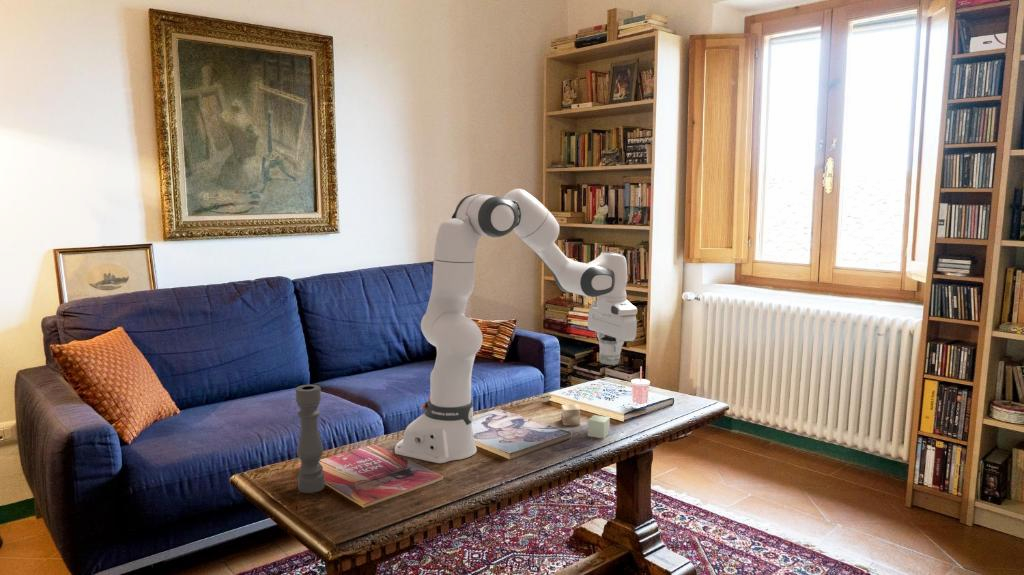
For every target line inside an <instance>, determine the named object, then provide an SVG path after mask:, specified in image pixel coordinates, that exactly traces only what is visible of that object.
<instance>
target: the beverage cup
mask: <svg viewBox="0 0 1024 575" xmlns="http://www.w3.org/2000/svg"><path fill="white" fill-rule="evenodd" d="M642 370H643V367H642V366H640V370H639V378H633V379H631V381H630V383H631V395H632V396H631V399H632V400H631V402H632V401H633V402H634V403H639V404H644V403H647V404H648V399H649V398H648V397H649V390H650V389H649V388H650V385H651V381H650V380H648V379H645V378H642V373H643V371H642Z"/></svg>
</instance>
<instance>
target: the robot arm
mask: <svg viewBox="0 0 1024 575" xmlns="http://www.w3.org/2000/svg"><path fill="white" fill-rule="evenodd" d="M512 231H513V232H514V233H515V234H516V235H517V237H519V239H520V240H522V242H524V243H525V244H526V245H527V246H528V248H530V249H531V250H532V251H533V252H534V253H535V255H536V256H537V257H538V258H539V259H540V260H541V262H542V263H543V264H544V265H545V266H546V267H547V268H548V270H549V271H550V272H551V274H552V276H553V278H554V282H555V283H556V286H557V287H558V289H559V290H561V291H562V292H563V293H567V294H574V295H577V296H578V295H580V296H584V297H588V298H595V297H596V300H593V301H592V302H591V303H590V308H589V310H588V316H587V323H586V324H587V328H588V330H589V331H594V332H596V336H597V339H598V343H599V344H598V346H599V347H600V339H601V338H603V337H605V336H611V337H614V338H616V342H617V344H616V346H614V352H616V353H620V354H621V352H622V347H623V346H624V343H625V342H630V341H631V342H632V341H635V339H636V337H637V325H638V323H637V322H638V321H637V317H636V315H637V314H638V308H637V306H635V305H633V304H632V303H631V302H630V301H629V300H628V299H627V298H628V296H627V291H626V290H627V289H626V287H627V283H628V264H627V259H626V257H625V255H624V254H622V253H617V252H611V251H606V250H605V251H601V252H600V254H599V255H598V256H597V257H596V258H595V259H593V260H591V261H589V262H587V263H585V262H580V261H576V260H574V259H571V258H570V257H569V258H568V257H567V256H566V255H565V253H564V252H563V251H562V250H561V249H560V248H559V246H558V245H557V243H555V242H556V241H557V239H558V237H559V235H560V224H559V222H558V221H557V219H556V217H555V216H554V215H553V214H552V213H551V211H550V210H549V209H548V208H547V207H546V206H545V205H544V204H543V203H542V202H541V201H539V200H538V199H537V198H536V197H535V196H534V195H532V194H531V193H529V192H527V191H526V190H525V189H523V188H515V189H514V188H513V189H511V190H510V191H508V192H507V193H505V195H504V196H503V197H502V196H495V195H491V194H487V193H486V194H484V193H479V194H475V193H474V194H473V193H472V194H469V195H466V196H465V197H462V198H461V200H459V202H458V204H457V205H456V207H455V210H454V212H453V214H452V216H451V218H448V219H446V220H444V221H443V222H442V223H441V224H440V225H439V227H438V230H437V233H436V238H435V244H434V251H433V268H432V269H433V270H432V284H431V291H430V295H429V300H428V304H427V307H426V312H425V313H424V314H423V317H422V319H421V321H420V328H421V329H420V330H421V332H422V335H423V337H425V340H426V341H427V343H430V344H431V345H432V346H433V347H435V349H436V357H435V362H434V367H433V370H432V371H431V372H430V375H429V376H430V377H429V378H430V379H429V380H430V382H429V383H430V384H429V385H430V386H429V387H430V389H429V390H430V392H429V393H430V397H428V399H427V401H425V402H424V403H423V405H422V406H421V407H422V409H421V410H422V411H424V413H422V414H420V416H418V417H417V418H416V419H414V420H413V421H412V422H410V423H409V424H408V425H407V427H406V428H405V430H404V433H403V437H402V439H401V440H399V441H398V442H397V443H396V445H395V446H394V453H395V455H400V456H404V457H408V458H413V459H417V460H422V461H425V462H431V463H436V464H444V463H448V462H451V461H458V460H463V459H466V458H471V456H473V455H475V454H476V453H477V451H478V448H477V446H476V441H475V438H474V430H473V429H474V428H473V423H472V422H473V420H474V419H473V417H474V407H473V404H474V403H473V400H472V372H473V367H474V362H475V358H476V354H478V352H479V351H480V350H481V347H482V344H483V339H484V338H483V332H482V331H481V328H480V327H479V326H478V325H477V323H476V322H475V321H474V320H473V319H472V318H470V317H468V316H466V314H465V312H466V308H467V304H468V301H469V298H470V296H471V295H472V294H473V291H474V289H475V288H474V287H475V272H476V252H477V250H476V249H477V245H478V242H480V239H481V238H482V237H491V238H501V237H504V236H506V235H508V234H509V233H511V232H512Z"/></svg>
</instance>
